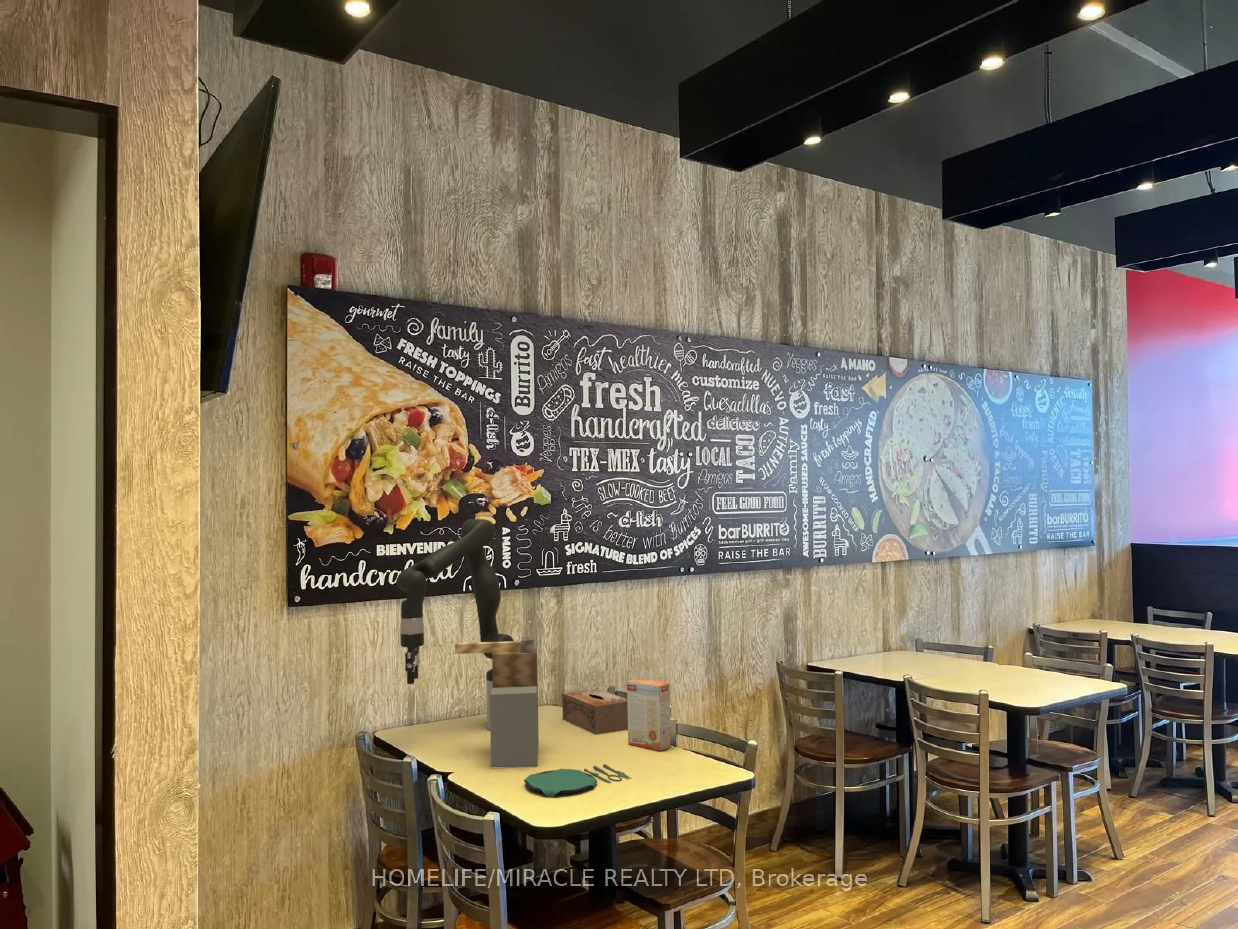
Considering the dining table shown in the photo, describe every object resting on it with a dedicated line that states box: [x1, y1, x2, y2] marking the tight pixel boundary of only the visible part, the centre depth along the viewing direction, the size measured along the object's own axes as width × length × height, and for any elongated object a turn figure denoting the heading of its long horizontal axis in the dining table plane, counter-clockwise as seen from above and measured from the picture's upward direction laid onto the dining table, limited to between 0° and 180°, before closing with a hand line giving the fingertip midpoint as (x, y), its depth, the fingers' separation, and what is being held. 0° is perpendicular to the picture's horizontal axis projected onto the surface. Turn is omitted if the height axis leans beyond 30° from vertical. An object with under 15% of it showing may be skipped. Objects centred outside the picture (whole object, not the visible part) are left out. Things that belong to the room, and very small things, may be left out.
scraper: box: [454, 635, 535, 655], centre depth 289 cm, size 25×8×4 cm, turn 94°
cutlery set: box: [523, 763, 632, 798], centre depth 256 cm, size 20×30×2 cm, turn 122°
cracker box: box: [626, 678, 672, 752], centre depth 292 cm, size 14×6×21 cm, turn 47°
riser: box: [491, 647, 540, 750], centre depth 289 cm, size 14×10×32 cm
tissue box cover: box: [561, 688, 628, 736], centre depth 323 cm, size 26×14×10 cm, turn 30°
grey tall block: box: [489, 686, 539, 768], centre depth 277 cm, size 14×10×22 cm
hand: (412, 681), depth 294 cm, fingers open, 8 cm apart
